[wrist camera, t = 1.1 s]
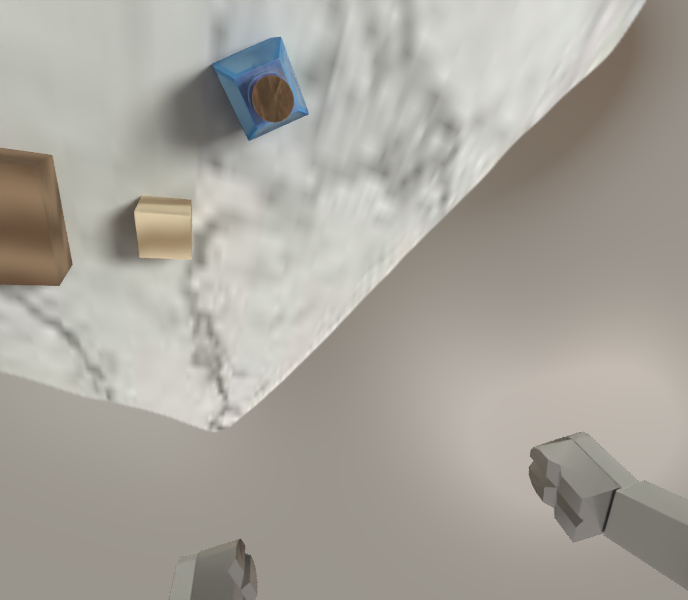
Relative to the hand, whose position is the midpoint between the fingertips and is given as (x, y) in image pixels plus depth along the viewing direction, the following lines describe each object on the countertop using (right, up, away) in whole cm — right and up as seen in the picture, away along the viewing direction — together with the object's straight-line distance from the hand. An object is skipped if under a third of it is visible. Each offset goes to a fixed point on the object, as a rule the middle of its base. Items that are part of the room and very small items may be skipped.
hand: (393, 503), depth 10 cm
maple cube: (-22, +15, +32) cm, 41 cm away
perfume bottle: (-10, +27, +27) cm, 40 cm away
